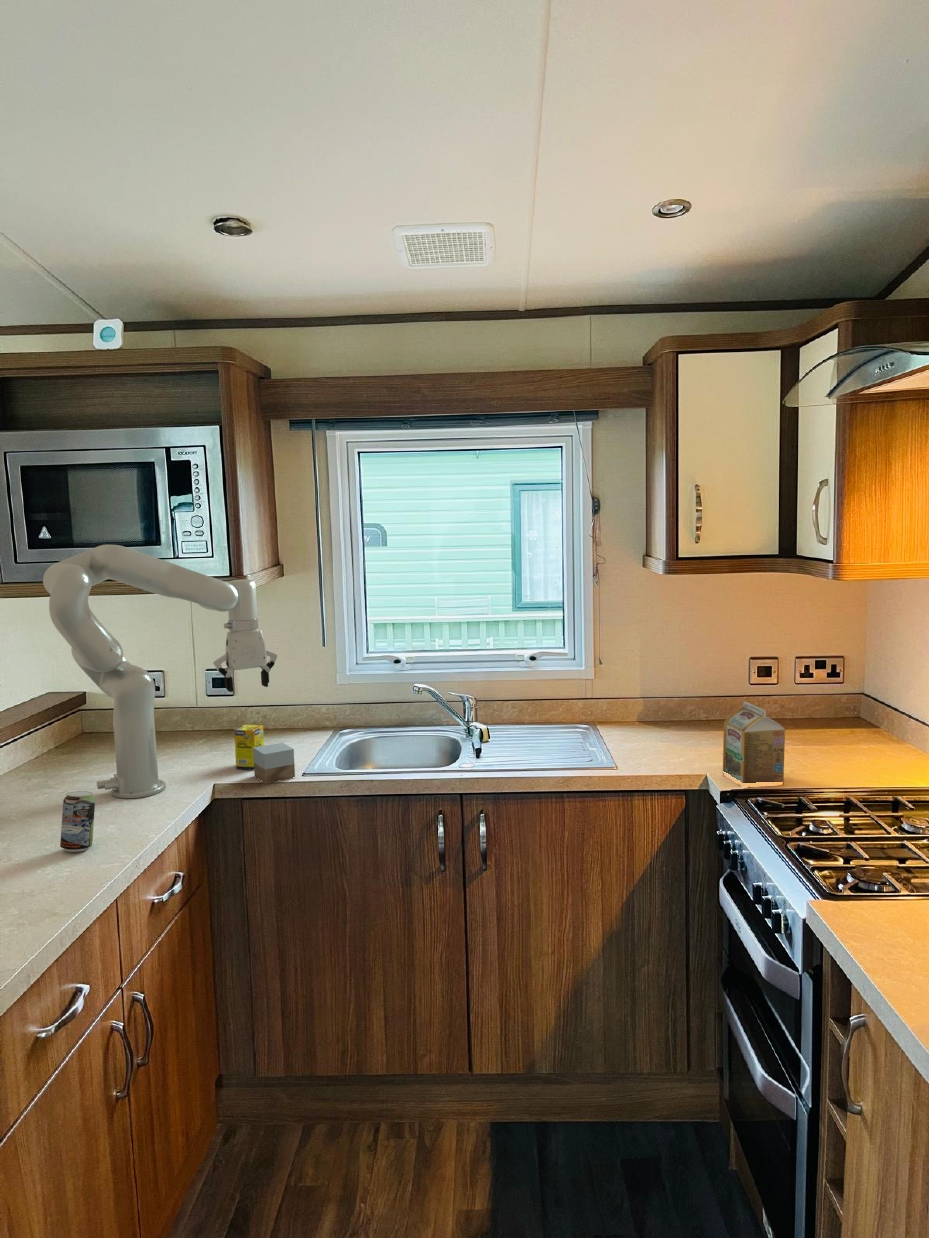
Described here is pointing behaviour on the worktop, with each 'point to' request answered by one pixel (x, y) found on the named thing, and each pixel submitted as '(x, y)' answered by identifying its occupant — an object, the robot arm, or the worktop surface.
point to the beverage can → (77, 821)
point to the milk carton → (753, 746)
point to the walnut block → (274, 773)
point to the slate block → (273, 755)
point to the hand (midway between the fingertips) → (247, 688)
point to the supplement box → (247, 744)
